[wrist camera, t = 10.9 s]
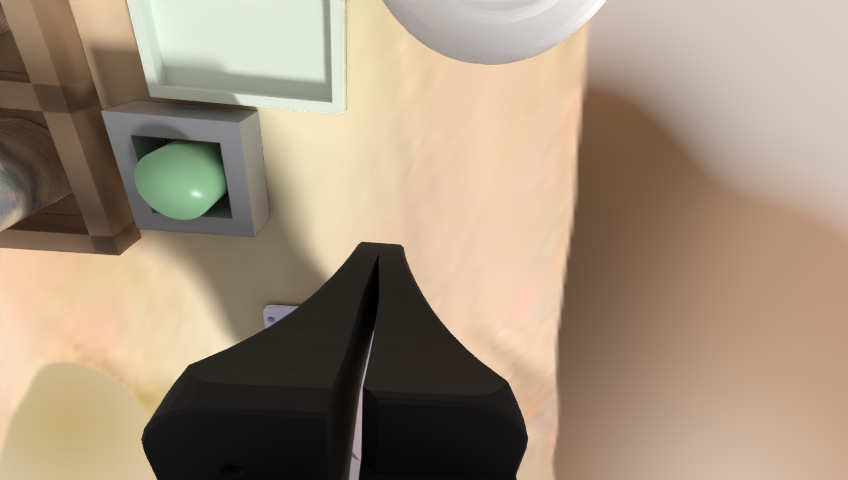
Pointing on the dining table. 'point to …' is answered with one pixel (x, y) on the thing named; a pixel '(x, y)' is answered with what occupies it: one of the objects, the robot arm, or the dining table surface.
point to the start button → (182, 178)
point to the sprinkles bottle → (492, 26)
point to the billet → (3, 21)
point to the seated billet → (28, 170)
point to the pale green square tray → (245, 51)
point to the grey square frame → (234, 129)
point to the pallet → (66, 134)
